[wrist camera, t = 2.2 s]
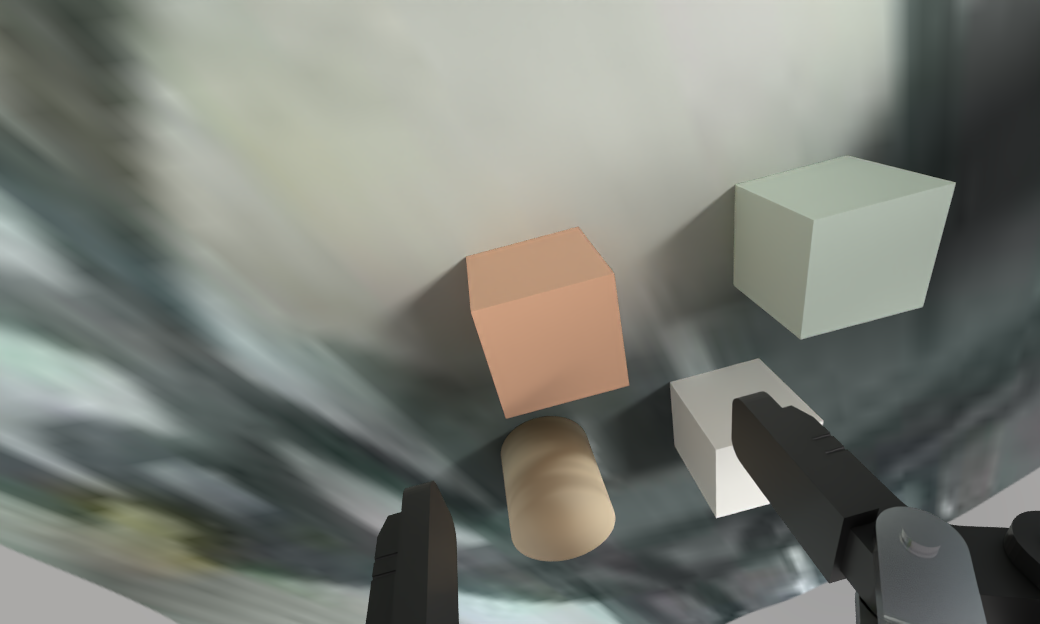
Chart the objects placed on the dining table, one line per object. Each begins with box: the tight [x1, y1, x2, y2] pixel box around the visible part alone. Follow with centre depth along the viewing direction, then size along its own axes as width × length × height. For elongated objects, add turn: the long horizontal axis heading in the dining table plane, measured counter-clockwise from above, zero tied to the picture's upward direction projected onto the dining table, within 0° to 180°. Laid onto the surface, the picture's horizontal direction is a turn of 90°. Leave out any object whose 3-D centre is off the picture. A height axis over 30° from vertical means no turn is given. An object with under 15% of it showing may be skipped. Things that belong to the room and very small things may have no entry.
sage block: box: [733, 155, 956, 339], centre depth 19 cm, size 5×5×5 cm
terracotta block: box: [466, 227, 629, 419], centre depth 19 cm, size 5×5×5 cm
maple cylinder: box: [501, 416, 615, 561], centre depth 24 cm, size 5×5×5 cm
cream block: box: [670, 358, 823, 518], centre depth 24 cm, size 5×5×5 cm
